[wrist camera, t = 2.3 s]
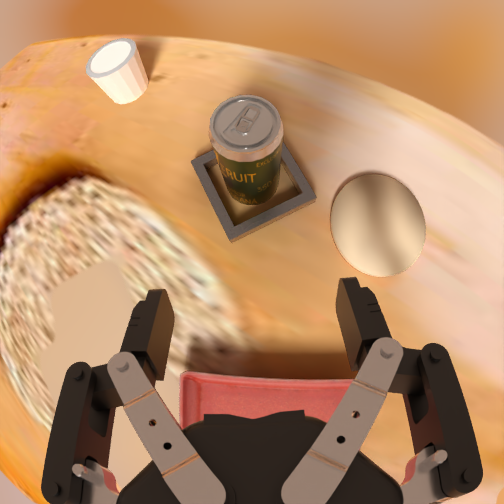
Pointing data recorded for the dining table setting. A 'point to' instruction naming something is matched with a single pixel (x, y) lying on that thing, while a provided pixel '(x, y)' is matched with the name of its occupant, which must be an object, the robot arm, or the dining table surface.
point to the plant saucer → (256, 396)
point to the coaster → (378, 225)
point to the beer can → (248, 147)
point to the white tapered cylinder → (118, 70)
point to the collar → (265, 217)
